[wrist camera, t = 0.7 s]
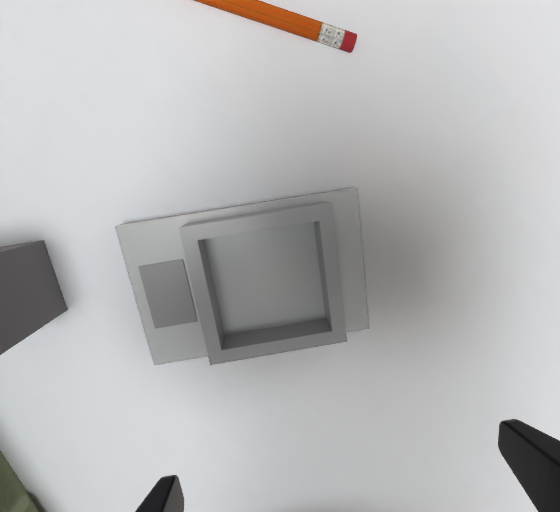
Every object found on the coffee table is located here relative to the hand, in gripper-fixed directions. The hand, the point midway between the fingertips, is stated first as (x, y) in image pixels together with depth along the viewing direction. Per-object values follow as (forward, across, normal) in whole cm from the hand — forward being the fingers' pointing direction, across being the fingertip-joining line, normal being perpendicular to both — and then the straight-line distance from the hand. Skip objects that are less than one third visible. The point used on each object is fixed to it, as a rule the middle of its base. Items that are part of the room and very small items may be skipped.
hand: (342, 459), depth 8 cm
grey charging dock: (+12, +2, -2) cm, 13 cm away
